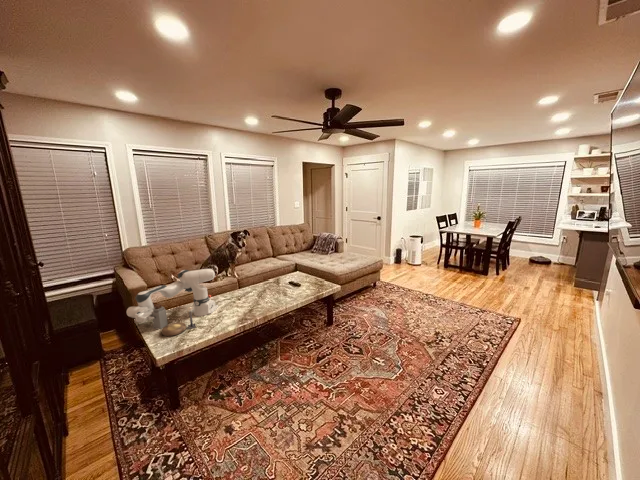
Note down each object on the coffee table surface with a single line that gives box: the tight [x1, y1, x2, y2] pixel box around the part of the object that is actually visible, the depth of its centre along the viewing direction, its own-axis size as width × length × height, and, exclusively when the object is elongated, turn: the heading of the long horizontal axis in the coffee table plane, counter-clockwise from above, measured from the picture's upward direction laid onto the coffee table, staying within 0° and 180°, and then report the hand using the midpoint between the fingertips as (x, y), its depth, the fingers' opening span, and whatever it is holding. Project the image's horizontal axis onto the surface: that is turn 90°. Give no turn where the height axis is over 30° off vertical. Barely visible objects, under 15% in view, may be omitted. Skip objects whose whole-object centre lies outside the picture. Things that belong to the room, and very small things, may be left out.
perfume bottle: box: [152, 303, 169, 330], centre depth 204 cm, size 7×7×18 cm
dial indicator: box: [186, 305, 196, 330], centre depth 203 cm, size 5×5×17 cm
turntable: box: [161, 321, 187, 337], centre depth 198 cm, size 16×16×3 cm
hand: (159, 315), depth 203 cm, fingers open, 8 cm apart
